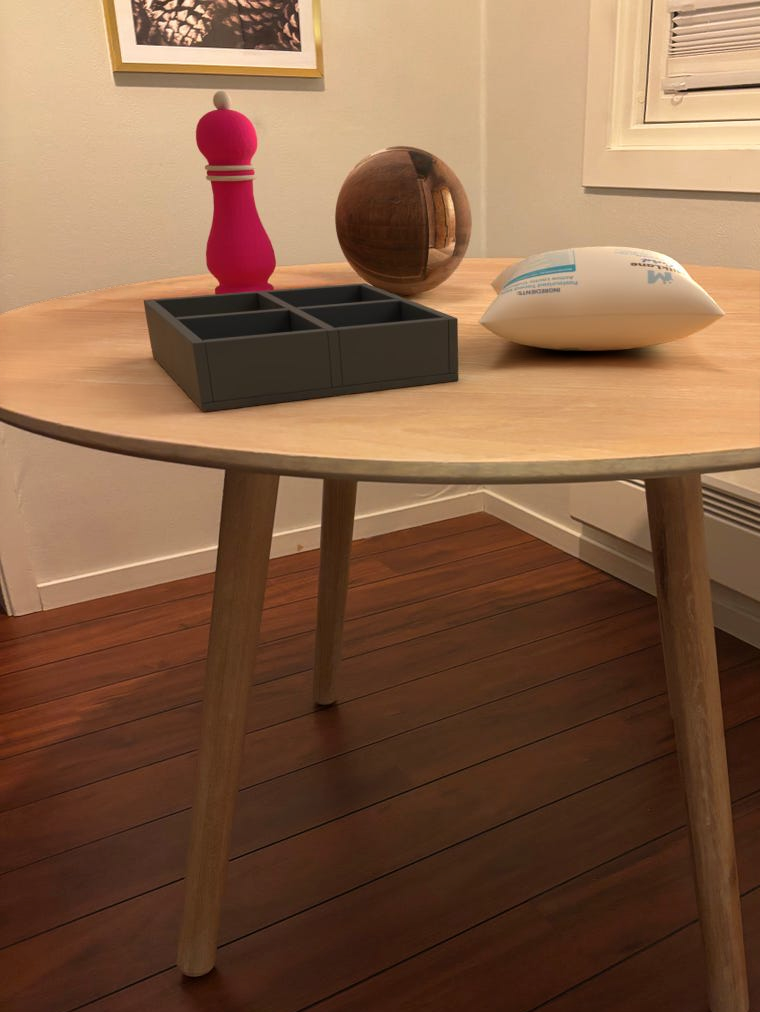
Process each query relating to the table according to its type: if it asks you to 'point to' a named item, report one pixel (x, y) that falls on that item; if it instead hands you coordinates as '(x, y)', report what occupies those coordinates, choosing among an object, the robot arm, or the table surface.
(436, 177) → the shiny brown ball
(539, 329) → the pouch
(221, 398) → the compartment tray
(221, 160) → the pepper mill
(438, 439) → the table surface
